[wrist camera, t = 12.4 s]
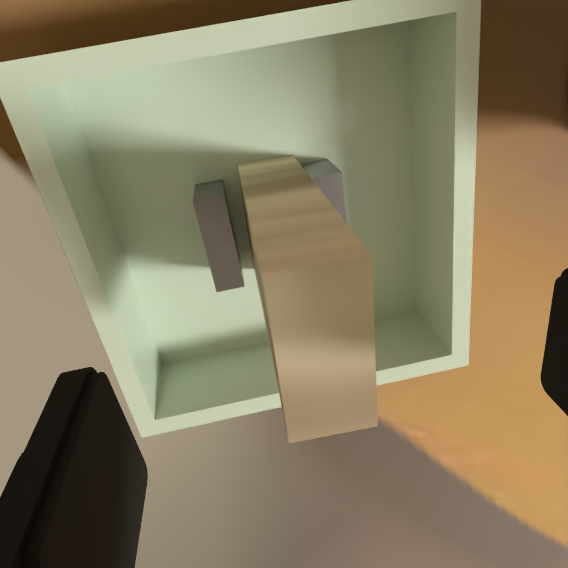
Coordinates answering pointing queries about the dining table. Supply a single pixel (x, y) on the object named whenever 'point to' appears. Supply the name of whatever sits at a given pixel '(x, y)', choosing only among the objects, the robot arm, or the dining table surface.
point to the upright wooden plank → (312, 300)
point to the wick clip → (220, 227)
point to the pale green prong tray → (223, 165)
